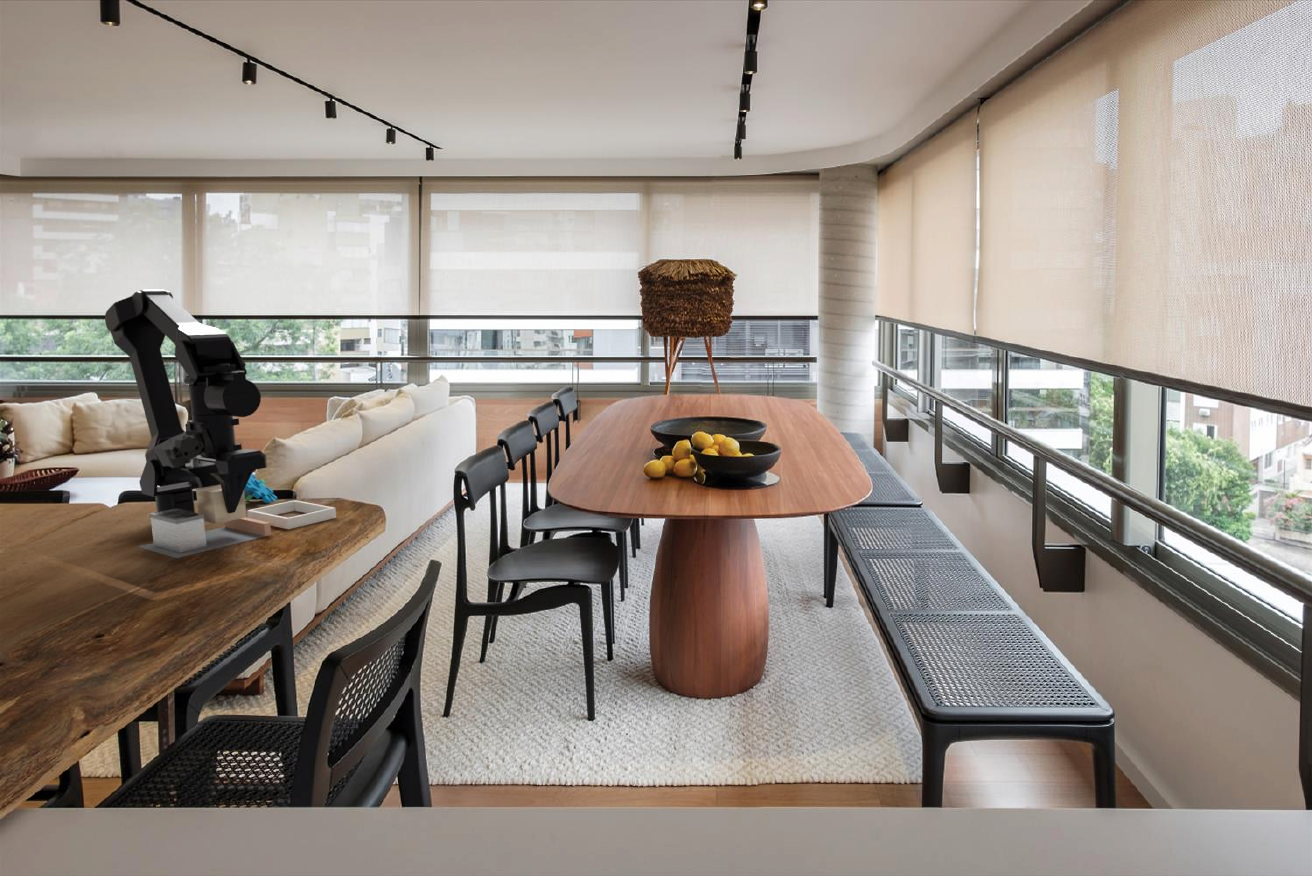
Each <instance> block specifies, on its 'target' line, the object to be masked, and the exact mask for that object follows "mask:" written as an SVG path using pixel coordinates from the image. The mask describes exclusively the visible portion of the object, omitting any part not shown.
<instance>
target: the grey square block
mask: <svg viewBox="0 0 1312 876" xmlns="http://www.w3.org/2000/svg"><path fill="white" fill-rule="evenodd" d="M149 518H150V525H151V532H152V539H153V542H152V543H154V546H158V547H161V548H165V549H168V550H172V551H175V552H179V553H181V552H186V551H190V550H194V549H198V548H202V547H206V546H207V545H206V536H205V531H206V527H205V521H204V514H200V513H198V512H196V511H195V512H191V511H186V510H182V509H178V508H176V509H171V510H166V511H161V512H157V511H156V512H151V513H149Z"/></svg>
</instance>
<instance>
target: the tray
mask: <svg viewBox="0 0 1312 876" xmlns="http://www.w3.org/2000/svg"><path fill="white" fill-rule="evenodd" d="M290 512H299V513H300V512H301V513H304V514H299V515H295V516H291V517H286V516H280V515H281V514H286V513H290ZM246 516H247V518H251V519H256V520H260V521H265V522H270V526H272V527H277V528H281V529H285V530H291V529H296V528H299V527H300V528H301V527H304V526H307V525H311V524H315V523H320V522H324V521H328V520H332V519H336V518H337V511H336V507H333V506H328V505H323V504H317V503H312V502H306V501H301V500H296V499H294V500H290V501H285V502H280V503H275V504H271V505H266V506H262V507H258V508H252V509H249V510H247V509H246Z"/></svg>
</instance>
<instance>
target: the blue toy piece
mask: <svg viewBox="0 0 1312 876" xmlns="http://www.w3.org/2000/svg"><path fill="white" fill-rule="evenodd" d="M256 477H257V476H256V475H255V474H254V473H252V474H251V476H250V478H249V480H248V482H247V484H246V487H245V489H244V496H245V502H249V501H250V500H251V499H252V498H253V497H254V498H256V499H257V500H259V499H260V497H261V498H262V499H261V501H262V502H263V503H265V504H269V503H270V502H275V501H276V500H277V499H278V496H276V495H275V494H274V490H273V489H272V488H269V487H267V484H266V481H265V480H264V479H262V478H260V479H257V478H256Z"/></svg>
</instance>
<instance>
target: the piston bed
mask: <svg viewBox="0 0 1312 876" xmlns="http://www.w3.org/2000/svg"><path fill="white" fill-rule="evenodd" d="M205 536H206V545H207V546H206V547H202V548H198V549H194V550H190V551H186V552H181V553H179V552H175V551H172V550H168V549H165V548H161V547H158V546H154V542H151V543H146V544H143V545H138V546H137V548H140V549H144V550H147V551H151V552H153V553H157V554H161V555H165V556H168V557H170V558H171V557H172V558H175V559H179V558H183V557H184V558H185V557H188V556H191V555H196V554H199V553H200V554H201V553H203V552H207V551H208V552H209V551H212V550H216V549H220V548H223V547H228V546H232V545H236V544H242V543H245V542H248V541H252V540H259V539H262V538H266V537H270V536H272V528H271V525H270V522H265V521H260V520H256V519H251V518H248V516H246V517H245V518H240V519H236V520H231V521H227V522H224V526H222V527H218V528H217V527H216V528H214V529H208V530H205Z"/></svg>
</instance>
